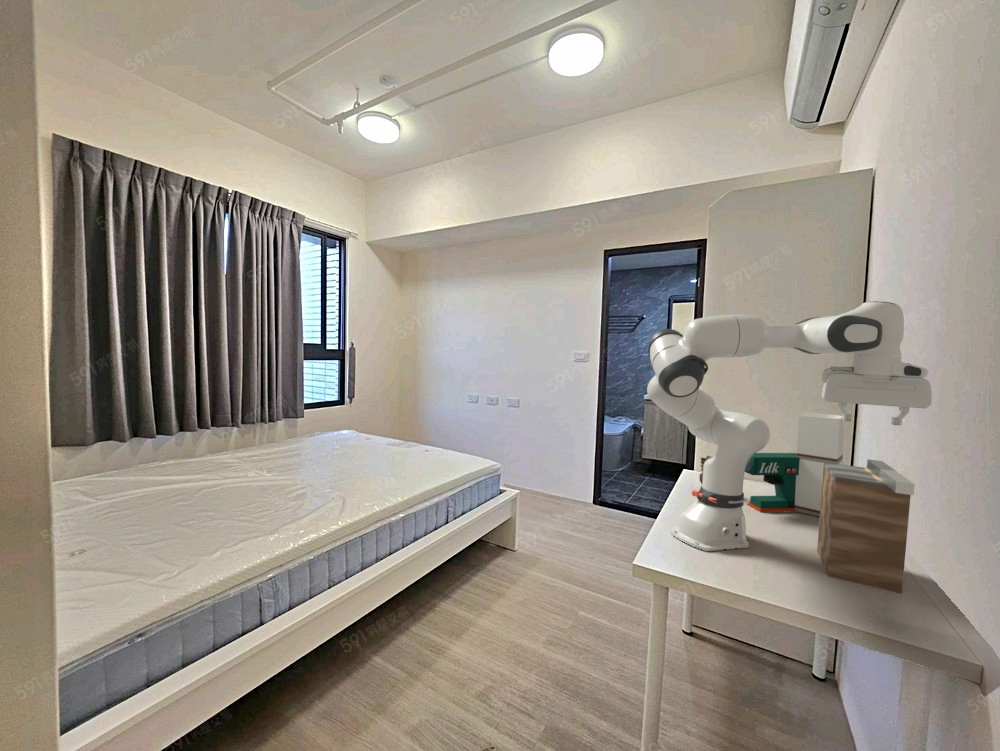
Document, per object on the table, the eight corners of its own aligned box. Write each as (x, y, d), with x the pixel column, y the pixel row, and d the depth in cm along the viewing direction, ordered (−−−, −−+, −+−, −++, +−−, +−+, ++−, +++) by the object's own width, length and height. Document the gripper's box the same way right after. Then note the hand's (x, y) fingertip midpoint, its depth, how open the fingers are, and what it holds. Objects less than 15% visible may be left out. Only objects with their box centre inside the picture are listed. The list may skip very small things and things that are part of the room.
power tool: (725, 513, 145) (729, 457, 144) (713, 505, 152) (716, 452, 151) (808, 512, 148) (812, 457, 147) (792, 504, 155) (796, 452, 154)
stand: (901, 593, 98) (911, 486, 96) (827, 576, 105) (835, 475, 103) (881, 564, 112) (889, 469, 110) (817, 550, 119) (823, 461, 117)
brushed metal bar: (913, 495, 90) (914, 484, 90) (895, 492, 91) (896, 481, 91) (881, 470, 110) (882, 461, 110) (866, 468, 111) (867, 459, 111)
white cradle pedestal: (839, 512, 148) (844, 416, 146) (834, 520, 140) (839, 418, 139) (801, 503, 156) (805, 412, 154) (794, 510, 149) (798, 415, 147)
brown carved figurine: (711, 490, 169) (713, 454, 168) (716, 495, 164) (718, 458, 163) (696, 489, 170) (698, 453, 169) (701, 493, 165) (703, 457, 164)
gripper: (825, 366, 104) (820, 419, 105) (937, 370, 94) (931, 429, 95) (821, 365, 110) (817, 416, 111) (926, 369, 99) (921, 425, 100)
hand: (870, 422), depth 103 cm, fingers open, 8 cm apart
